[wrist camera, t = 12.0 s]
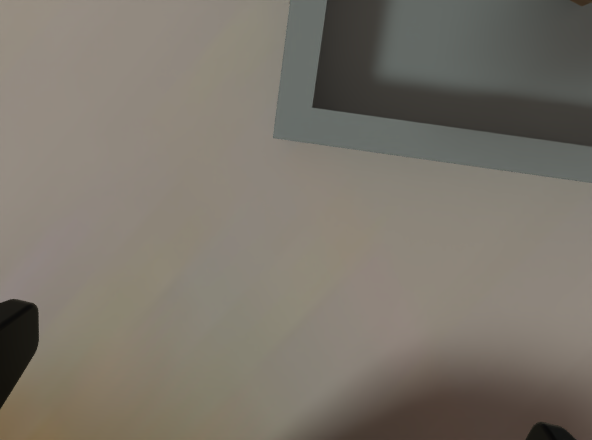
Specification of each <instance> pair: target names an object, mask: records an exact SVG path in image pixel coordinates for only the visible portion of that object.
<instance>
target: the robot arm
mask: <svg viewBox="0 0 592 440" xmlns="http://www.w3.org/2000/svg"><path fill="white" fill-rule="evenodd" d="M38 342H39V316H38V308H37V306H36V305H35V304H34V303H30V302H26V301H22V300H18V299H11V300H7V301H5V302H2V303H0V409H1V407H2V406H3V404H4V403H5V401H6V399H7V398H8V396H9V395H10V393H11V391H12V390H13V388H14V386H15V385H16V383H17V382H18V380H19V378H20V377H21V375H22V374H23V372H24V370H25V369H26V367H27V365H28V364H29V362H30V361H31V359H32V357H33V356H34V354H35V352H36V350H37V347H38ZM526 440H576V439H575V438H574V437H573V436H572V435H571V434H570V433H568V432H567V431H566V430H565V429H564V428H562V427H560V426H557V425H553V424H549V423H544V422H538V423H536V424H535V425H534V426H533V427H532V429H531V431H530V432H529V434H528V436H527V438H526Z"/></svg>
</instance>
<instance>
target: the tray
mask: <svg viewBox="0 0 592 440" xmlns="http://www.w3.org/2000/svg"><path fill="white" fill-rule="evenodd" d="M273 138H277V139H284V140H291V141H298V142H305V143H312V144H319V145H326V146H333V147H341V148H348V149H355V150H362V151H369V152H376V153H383V154H390V155H397V156H404V157H411V158H419V159H426V160H433V161H440V162H447V163H454V164H461V165H468V166H475V167H482V168H490V169H497V170H504V171H511V172H518V173H525V174H532V175H539V176H546V177H553V178H561V179H568V180H575V181H582V182H589V183H592V2H591V3H589V4H586V5H584V6H580V5H578V4H576V3H574V2H572V1H570V0H290V7H289V15H288V23H287V31H286V39H285V47H284V54H283V62H282V70H281V78H280V86H279V94H278V102H277V110H276V118H275V126H274V134H273Z"/></svg>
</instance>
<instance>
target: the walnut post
mask: <svg viewBox="0 0 592 440" xmlns="http://www.w3.org/2000/svg"><path fill="white" fill-rule="evenodd" d="M570 1H572V2H574V3H576V4H578V5H580V6H584V5H586V4H589V3H591V2H592V0H570Z"/></svg>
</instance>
